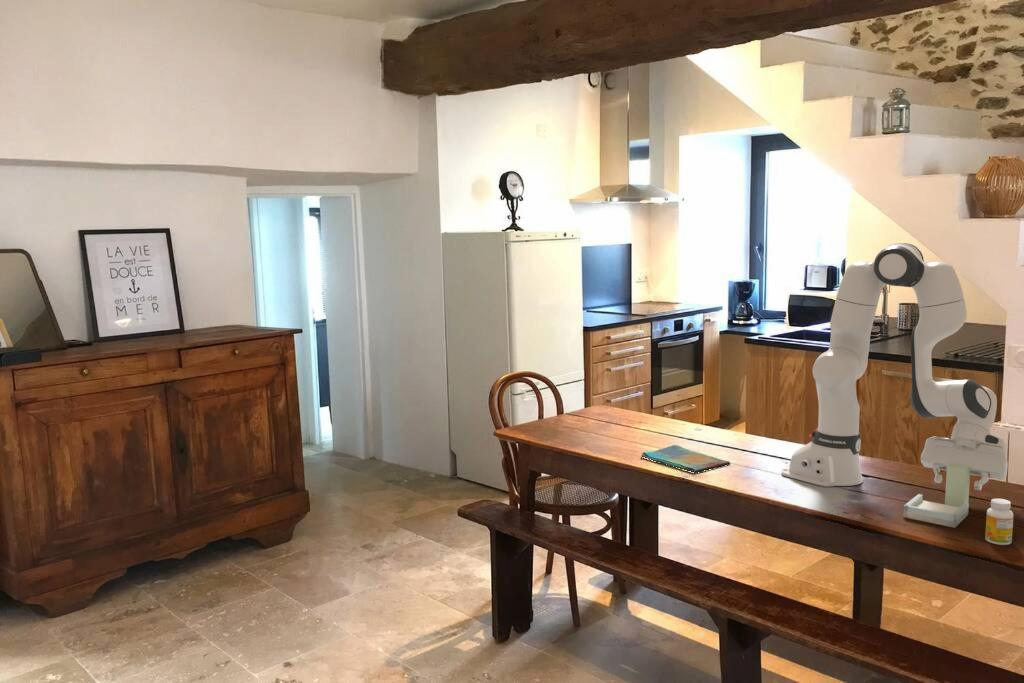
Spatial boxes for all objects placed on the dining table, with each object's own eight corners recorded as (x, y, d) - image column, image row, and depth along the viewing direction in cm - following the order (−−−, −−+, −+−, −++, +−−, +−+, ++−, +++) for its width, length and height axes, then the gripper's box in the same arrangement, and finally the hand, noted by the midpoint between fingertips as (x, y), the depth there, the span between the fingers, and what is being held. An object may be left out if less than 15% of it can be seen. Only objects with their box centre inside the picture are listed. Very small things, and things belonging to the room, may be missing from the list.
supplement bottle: (982, 536, 197) (984, 496, 196) (1008, 538, 195) (1010, 498, 194) (988, 544, 192) (990, 503, 191) (1014, 546, 190) (1017, 505, 189)
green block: (944, 506, 217) (946, 466, 216) (949, 502, 221) (951, 462, 219) (963, 510, 214) (965, 469, 213) (968, 506, 218) (970, 465, 216)
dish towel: (676, 450, 279) (676, 443, 278) (731, 466, 260) (731, 458, 259) (639, 459, 269) (639, 452, 268) (694, 476, 250) (694, 468, 249)
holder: (903, 517, 211) (903, 505, 210) (917, 504, 219) (918, 493, 219) (954, 527, 202) (955, 515, 202) (968, 514, 211) (968, 503, 211)
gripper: (925, 429, 227) (912, 471, 221) (1010, 440, 214) (998, 486, 208) (929, 441, 231) (916, 483, 225) (1013, 454, 217) (1002, 499, 212)
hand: (956, 485), depth 216 cm, fingers open, 8 cm apart
